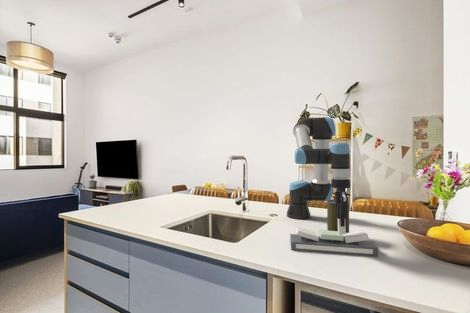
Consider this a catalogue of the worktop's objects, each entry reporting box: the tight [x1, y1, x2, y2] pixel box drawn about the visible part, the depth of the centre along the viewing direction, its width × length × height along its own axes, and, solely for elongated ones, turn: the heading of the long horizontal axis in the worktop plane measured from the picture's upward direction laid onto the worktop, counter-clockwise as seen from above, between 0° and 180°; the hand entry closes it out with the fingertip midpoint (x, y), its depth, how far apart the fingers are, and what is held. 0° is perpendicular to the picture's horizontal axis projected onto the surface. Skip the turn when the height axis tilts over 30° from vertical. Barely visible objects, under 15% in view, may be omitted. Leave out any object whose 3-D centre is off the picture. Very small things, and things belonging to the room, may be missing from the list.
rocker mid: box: [318, 229, 344, 241], centre depth 102 cm, size 6×9×2 cm, turn 79°
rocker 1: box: [295, 226, 319, 241], centre depth 104 cm, size 6×9×2 cm, turn 79°
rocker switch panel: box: [289, 233, 379, 257], centre depth 102 cm, size 10×34×5 cm, turn 79°
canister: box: [326, 195, 350, 233], centre depth 117 cm, size 11×10×20 cm
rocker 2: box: [342, 229, 370, 243], centre depth 100 cm, size 6×9×2 cm, turn 79°
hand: (341, 233), depth 101 cm, fingers closed
